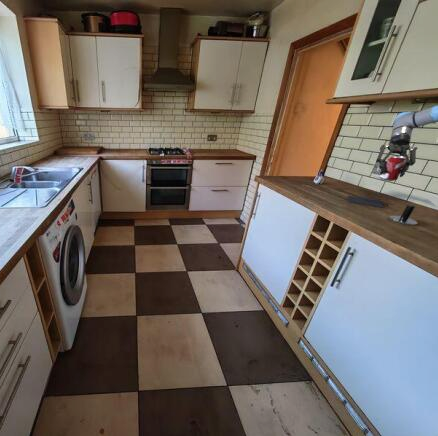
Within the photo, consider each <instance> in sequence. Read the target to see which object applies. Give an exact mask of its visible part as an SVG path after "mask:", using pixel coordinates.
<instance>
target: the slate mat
mask: <svg viewBox="0 0 438 436" xmlns="http://www.w3.org/2000/svg"><path fill="white" fill-rule="evenodd" d="M347 200H348V202H349V203H352V204H357V205H363V206H368V207H373V208H378V209H379V208H380V209H384V208H385V207H384V205H383V204H382V202H381V200H378V199H372V198H366V197H360V196H355V195H347Z"/></svg>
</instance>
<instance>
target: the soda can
mask: <svg viewBox="0 0 438 436" xmlns="http://www.w3.org/2000/svg"><path fill="white" fill-rule="evenodd" d="M386 161H387V163H386V167H385V171H384V173H383V174H382V175H381V174H380V173H379V179H380V180H382V181H387V182H394V181H398V178H399V177H400V173H401V171H402V169H403V167H404V165H405V163H406V157H401V156H400V155H390V156H389V157H388V158H387V159H386Z"/></svg>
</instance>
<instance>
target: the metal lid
mask: <svg viewBox="0 0 438 436" xmlns="http://www.w3.org/2000/svg"><path fill="white" fill-rule="evenodd" d="M415 208H416V206H415V205H413V204H407V205H406V207H405V208H404V210H403V212H402V214H401V216H400V215H389V217H388V219H389V220H390V221H392V222H394V223H398V224H401V225H404V226H412V227H413V226H417V225H418V222H417V221H416V220H414V219H412V218H409V217H410V216H412V213H413V211H414V210H415Z"/></svg>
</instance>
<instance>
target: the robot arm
mask: <svg viewBox="0 0 438 436" xmlns="http://www.w3.org/2000/svg"><path fill="white" fill-rule="evenodd" d="M436 122H438V105H435V106H432V107H429V108H426V109H423V110H420V111H417V112H415V111H403V112H401V113H399V114H397V115H396V116H395V119H394V121H393V127H392V130H391V134H390V138H389V141H388V144H387V145H386V144H381V145H380V147H379V154H378V155H377V158H376V160H375V162H376V163H379V167H378V168H379V169H380V173H379V175H380V174H381V175H382V174H383V173H384V171H385V167H386V163H387V160H388V159H389V158H390V157H391V156H392V155H393V154H396V155H399V156H401V157H406V163H405V165H404V167H403V169H402V171H401V173H400V174H399V177H400V178H403V177H404V175H405V174H406V172H407V171H408V170H409V169H410V167H413V166H414V165H415V164H416V160H417V159H416V157H417V150H418V147H417V146H415V147H411V145H410V144H411V138H412V135H413V130H414V129H417V128H420V127H424V126H426V125H431V124H436ZM386 150H388V152H387V154H386V155H384V153H385V151H386ZM407 152H408V153H409V155H408V153H407ZM383 156H384V157H383ZM382 157H383V158H382Z"/></svg>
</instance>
